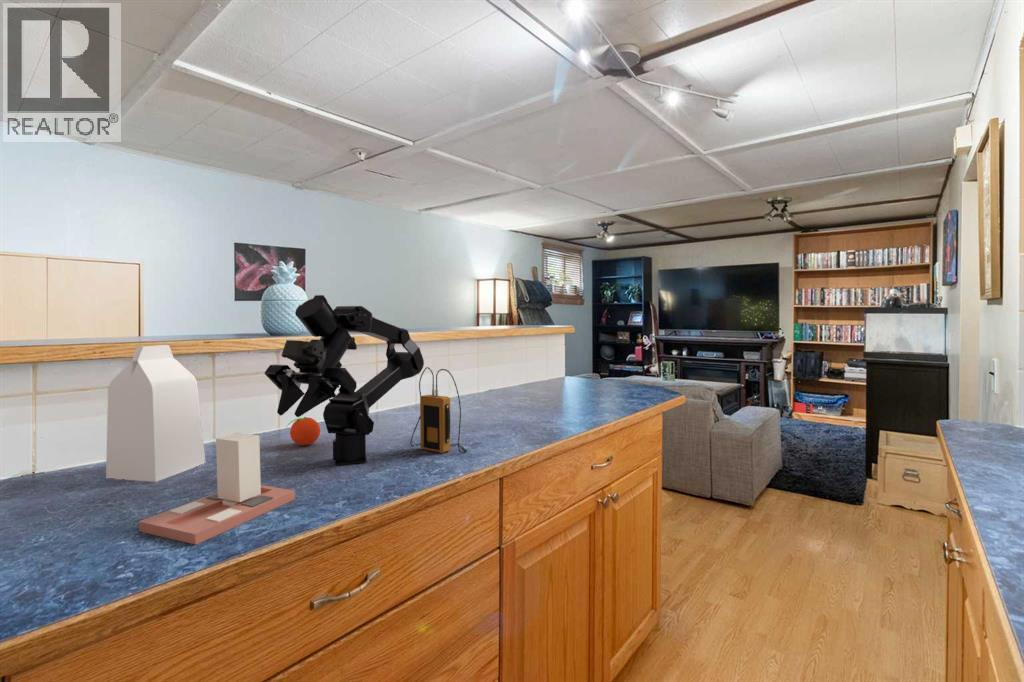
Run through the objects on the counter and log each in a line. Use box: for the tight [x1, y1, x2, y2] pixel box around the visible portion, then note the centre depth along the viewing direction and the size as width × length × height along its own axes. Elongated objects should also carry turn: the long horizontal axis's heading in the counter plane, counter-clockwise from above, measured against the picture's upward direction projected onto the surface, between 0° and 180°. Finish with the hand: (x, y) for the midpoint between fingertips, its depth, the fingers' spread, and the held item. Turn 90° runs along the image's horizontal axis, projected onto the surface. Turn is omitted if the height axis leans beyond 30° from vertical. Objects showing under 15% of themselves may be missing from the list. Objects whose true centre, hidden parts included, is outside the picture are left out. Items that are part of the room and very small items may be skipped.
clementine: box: [286, 416, 321, 447], centre depth 119 cm, size 8×7×7 cm
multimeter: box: [410, 366, 468, 454], centre depth 117 cm, size 15×10×20 cm
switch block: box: [138, 484, 296, 546], centre depth 78 cm, size 18×12×2 cm, turn 159°
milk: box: [105, 344, 206, 483], centre depth 99 cm, size 12×12×26 cm
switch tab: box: [215, 432, 262, 507], centre depth 80 cm, size 4×5×11 cm
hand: (287, 415), depth 90 cm, fingers open, 4 cm apart
